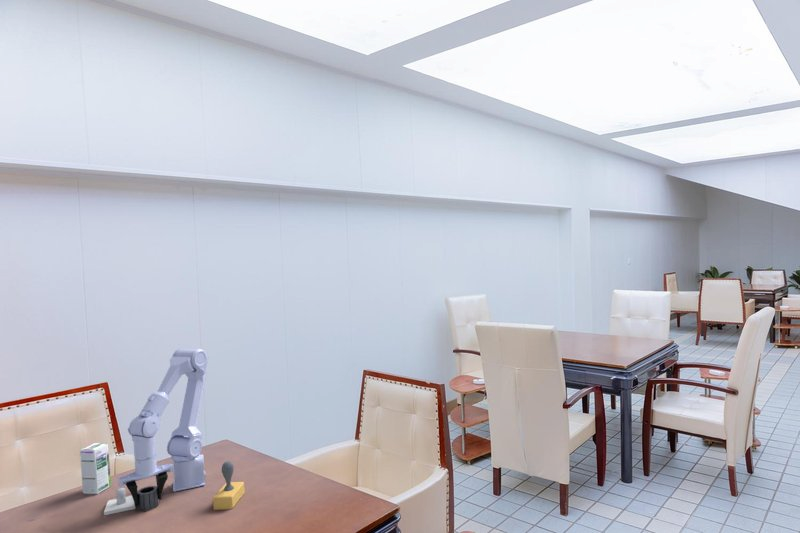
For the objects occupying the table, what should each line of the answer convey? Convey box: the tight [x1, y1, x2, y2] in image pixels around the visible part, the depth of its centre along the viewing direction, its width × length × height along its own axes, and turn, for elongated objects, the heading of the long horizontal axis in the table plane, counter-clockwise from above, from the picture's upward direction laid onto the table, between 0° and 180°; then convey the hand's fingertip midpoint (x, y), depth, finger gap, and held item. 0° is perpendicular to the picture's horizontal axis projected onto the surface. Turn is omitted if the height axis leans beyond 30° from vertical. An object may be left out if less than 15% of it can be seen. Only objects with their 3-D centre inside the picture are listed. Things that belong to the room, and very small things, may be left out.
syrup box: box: [79, 442, 112, 495], centre depth 159 cm, size 6×6×14 cm
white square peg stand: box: [103, 487, 136, 516], centre depth 147 cm, size 8×8×5 cm
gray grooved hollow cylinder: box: [137, 485, 159, 512], centre depth 146 cm, size 5×5×5 cm
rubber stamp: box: [212, 460, 246, 511], centre depth 147 cm, size 10×6×12 cm, turn 177°
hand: (147, 501), depth 146 cm, fingers closed on gray grooved hollow cylinder, 6 cm apart
